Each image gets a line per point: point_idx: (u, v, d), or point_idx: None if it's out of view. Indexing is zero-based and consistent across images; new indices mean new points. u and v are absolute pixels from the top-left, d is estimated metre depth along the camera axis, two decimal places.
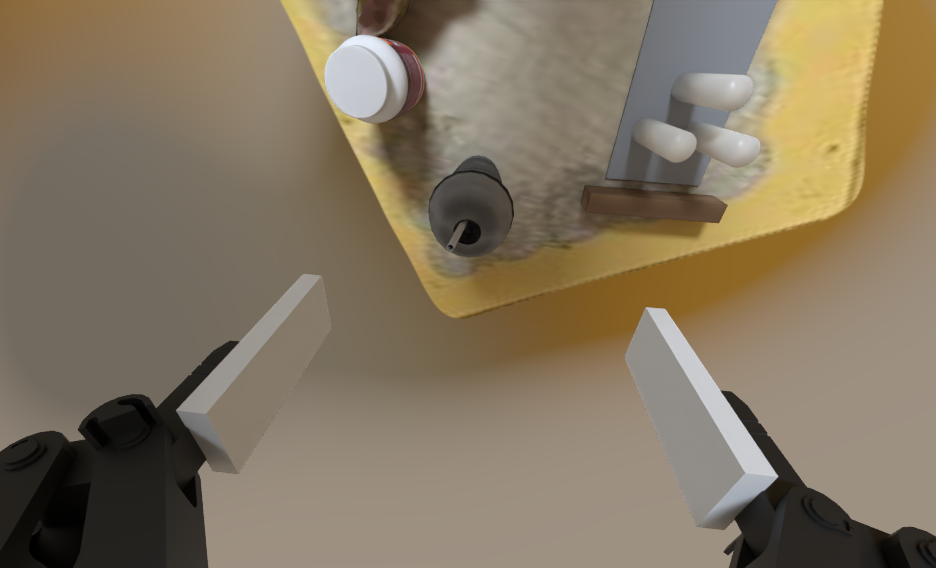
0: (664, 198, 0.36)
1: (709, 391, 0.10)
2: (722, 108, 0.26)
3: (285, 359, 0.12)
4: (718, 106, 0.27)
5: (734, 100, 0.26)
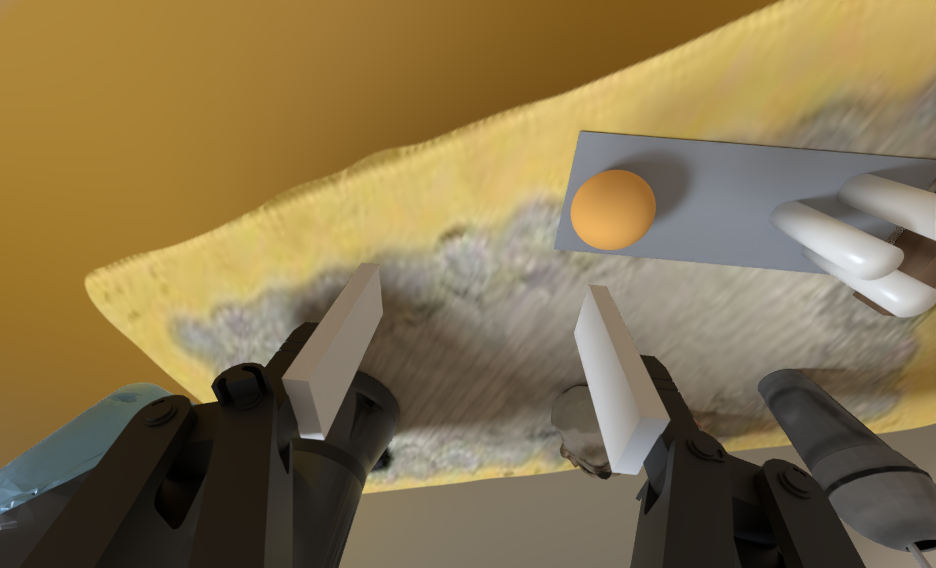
0: None
1: (628, 353, 0.11)
2: (890, 271, 0.22)
3: (354, 339, 0.13)
4: (883, 274, 0.22)
5: (888, 262, 0.21)
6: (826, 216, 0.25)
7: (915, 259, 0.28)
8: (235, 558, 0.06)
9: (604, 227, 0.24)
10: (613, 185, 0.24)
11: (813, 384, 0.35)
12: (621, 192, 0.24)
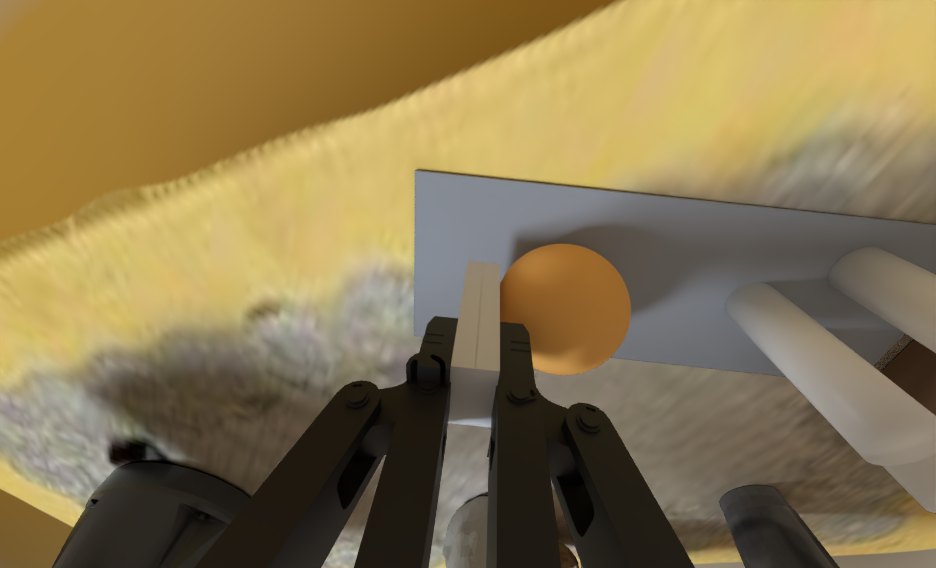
0: None
1: (489, 318, 0.12)
2: (925, 456, 0.12)
3: None
4: None
5: (923, 443, 0.11)
6: (810, 323, 0.15)
7: None
8: (401, 537, 0.07)
9: (618, 346, 0.14)
10: (606, 282, 0.14)
11: (791, 515, 0.26)
12: (619, 286, 0.14)
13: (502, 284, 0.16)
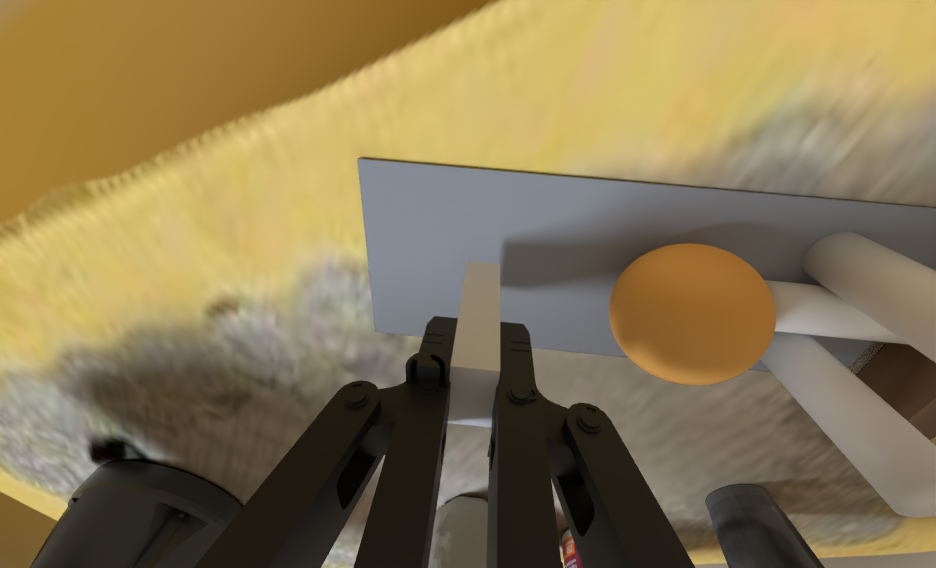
0: None
1: (490, 318, 0.12)
2: None
3: None
4: None
5: None
6: None
7: (930, 369, 0.17)
8: (401, 537, 0.07)
9: None
10: None
11: (777, 515, 0.24)
12: None
13: (775, 322, 0.13)
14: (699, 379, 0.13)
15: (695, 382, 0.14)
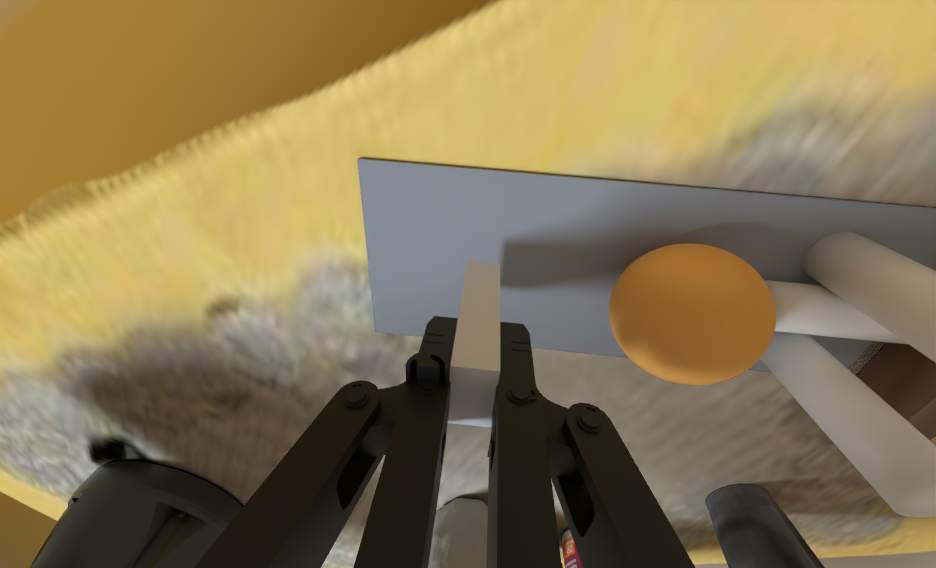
0: None
1: (490, 318, 0.12)
2: None
3: None
4: None
5: None
6: None
7: (930, 369, 0.17)
8: (401, 537, 0.07)
9: None
10: None
11: (777, 515, 0.24)
12: None
13: (775, 322, 0.13)
14: (699, 379, 0.13)
15: (695, 382, 0.14)
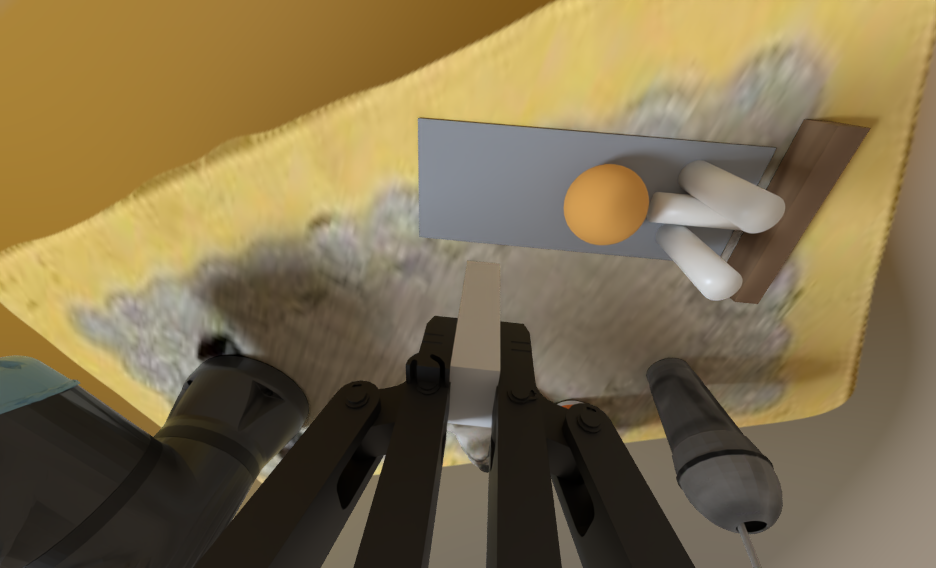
0: None
1: (490, 318, 0.12)
2: None
3: None
4: None
5: None
6: None
7: (756, 246, 0.28)
8: (401, 537, 0.07)
9: None
10: None
11: (689, 372, 0.36)
12: None
13: (646, 201, 0.24)
14: (607, 234, 0.25)
15: (606, 237, 0.25)
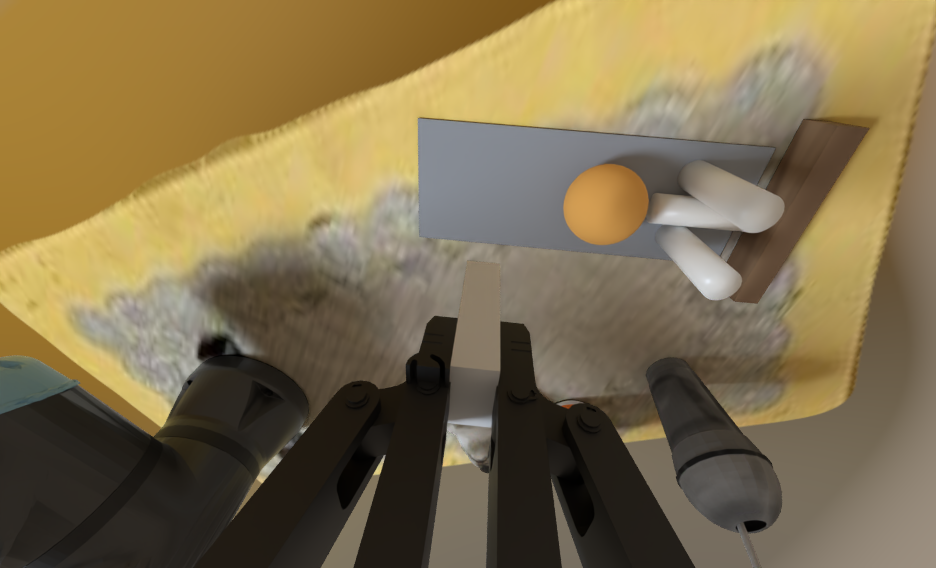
0: None
1: (490, 318, 0.12)
2: None
3: None
4: None
5: None
6: None
7: (756, 245, 0.28)
8: (401, 537, 0.07)
9: None
10: None
11: (689, 372, 0.36)
12: None
13: (645, 201, 0.24)
14: (607, 234, 0.25)
15: (606, 237, 0.25)
